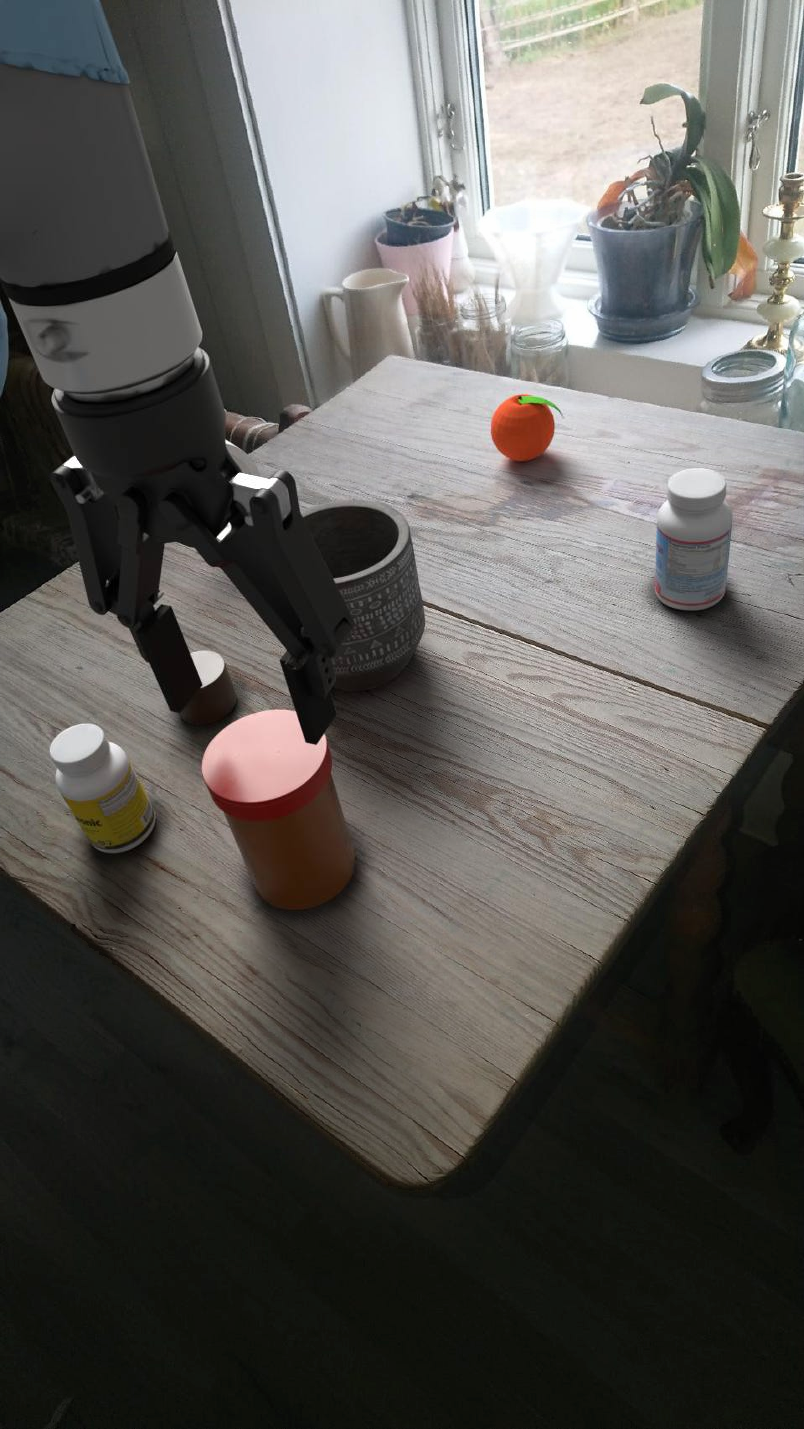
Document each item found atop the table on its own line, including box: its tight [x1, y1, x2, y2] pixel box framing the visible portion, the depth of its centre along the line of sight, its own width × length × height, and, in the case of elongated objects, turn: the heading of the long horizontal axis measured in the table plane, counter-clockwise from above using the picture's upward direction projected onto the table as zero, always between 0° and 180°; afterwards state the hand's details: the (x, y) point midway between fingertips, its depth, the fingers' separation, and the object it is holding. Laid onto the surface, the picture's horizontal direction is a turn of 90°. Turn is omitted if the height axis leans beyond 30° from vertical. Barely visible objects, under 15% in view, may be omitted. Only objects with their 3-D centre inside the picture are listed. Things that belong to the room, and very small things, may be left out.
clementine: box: [490, 393, 565, 462], centre depth 105 cm, size 8×7×7 cm
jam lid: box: [200, 708, 333, 821], centre depth 63 cm, size 8×8×2 cm
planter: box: [300, 499, 426, 692], centre depth 83 cm, size 12×12×13 cm
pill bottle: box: [654, 467, 733, 611], centre depth 83 cm, size 6×6×11 cm
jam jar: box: [223, 773, 356, 911], centre depth 67 cm, size 8×8×12 cm
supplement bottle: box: [49, 723, 157, 854], centre depth 73 cm, size 5×5×10 cm
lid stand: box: [178, 650, 238, 726], centre depth 84 cm, size 5×5×4 cm
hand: (251, 712), depth 60 cm, fingers open, 9 cm apart
